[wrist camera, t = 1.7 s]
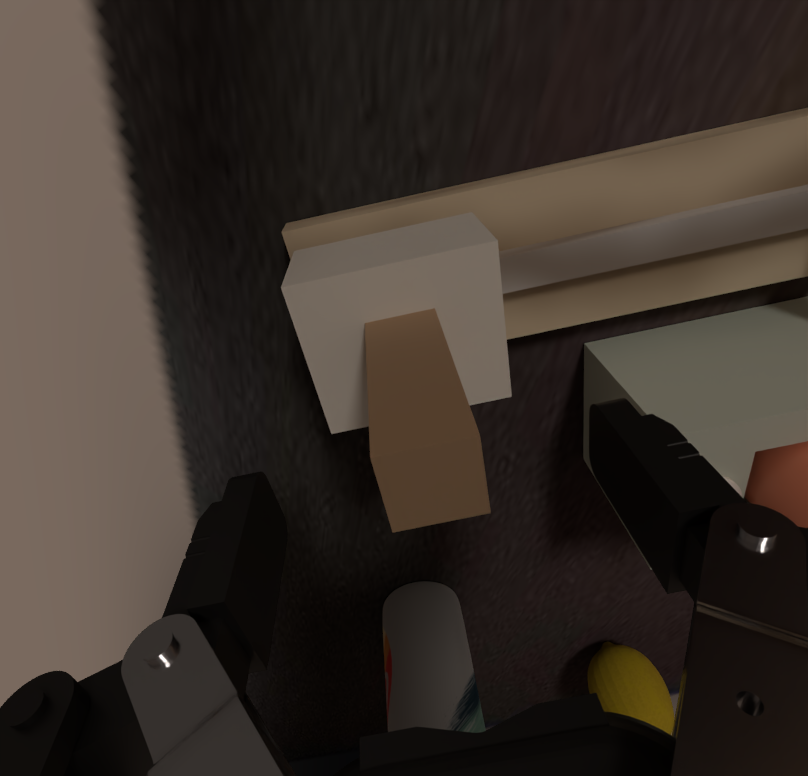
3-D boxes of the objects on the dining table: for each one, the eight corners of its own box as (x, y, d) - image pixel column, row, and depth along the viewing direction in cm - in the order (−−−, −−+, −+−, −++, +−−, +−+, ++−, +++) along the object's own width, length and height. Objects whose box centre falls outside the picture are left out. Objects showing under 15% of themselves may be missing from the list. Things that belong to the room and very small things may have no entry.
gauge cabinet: (584, 343, 26) (672, 444, 18) (815, 294, 25) (997, 378, 18) (583, 458, 30) (655, 576, 23) (781, 418, 29) (917, 525, 22)
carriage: (294, 251, 19) (236, 412, 10) (472, 211, 19) (587, 339, 9) (335, 380, 22) (320, 595, 13) (487, 348, 22) (585, 543, 13)
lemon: (643, 648, 42) (699, 757, 35) (581, 668, 43) (623, 778, 36) (632, 614, 39) (691, 726, 32) (566, 636, 40) (609, 749, 33)
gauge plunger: (714, 413, 22) (821, 511, 17) (803, 395, 22) (937, 488, 17) (702, 477, 24) (794, 581, 19) (783, 461, 24) (897, 561, 19)
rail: (286, 223, 21) (270, 254, 17) (871, 93, 20) (990, 96, 17) (330, 362, 25) (325, 413, 21) (826, 257, 24) (914, 289, 20)
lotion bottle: (390, 633, 38) (419, 1084, 21) (373, 588, 35) (392, 1073, 18) (463, 618, 37) (553, 1062, 20) (453, 572, 34) (548, 1047, 17)
